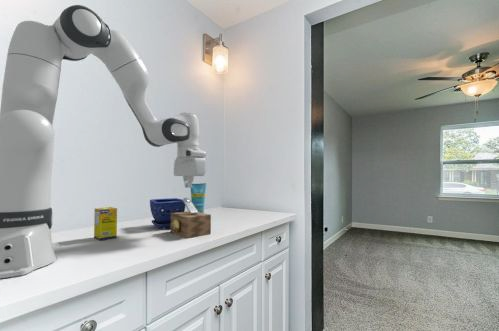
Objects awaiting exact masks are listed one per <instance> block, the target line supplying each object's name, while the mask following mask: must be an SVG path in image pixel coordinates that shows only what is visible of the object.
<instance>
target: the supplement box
mask: <svg viewBox="0 0 499 331" xmlns="http://www.w3.org/2000/svg"><path fill="white" fill-rule="evenodd" d="M93 217H94V218H93V219H94V220H93V221H94V224H93V225H94V226H93V232H94V234H93V238H94V239H96V240H98V241H105V240H111V239H115V238H116V239H117V237H118V236H117V234H118V233H117V232H118V230H117V228H118V225H117V224H118V208H116V207H113V206H108V207H107V206H105V207H96V208H94V216H93Z"/></svg>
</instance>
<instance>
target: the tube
mask: <svg viewBox="0 0 499 331" xmlns="http://www.w3.org/2000/svg"><path fill="white" fill-rule="evenodd" d="M206 187H207V183H206V182H205V183H204V182H202V183H201V182H200V183H192V187H191V188H190V200H191V201H192V203H193V205H194V206H195V208H196V209H197V211H198V212H200V213H205V199H206V198H205V197H206V190H207V189H206Z"/></svg>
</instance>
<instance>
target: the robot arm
mask: <svg viewBox="0 0 499 331" xmlns="http://www.w3.org/2000/svg"><path fill="white" fill-rule="evenodd" d="M91 54H92V55H93V56H95V57H96V58H98V59H99V60H100V61H101V62H102V63H103V64H104V65H105V67H106V68H107V70H108V72H109V73H110V74H111V75H112V78H113V79H114V80H115V82H116V83H117V85H118V87H119V89H120V90H121V93H122V95H123V97H124V99H125V101H126V103H127V105H128V106H129V108H130V110H131V112H132V113H133V115H134V116H135V118H136V120H137V122H138V123H139V125H140V127H141V130H142V133H143V137H144V139H145V141H146V142H147V143H148V144H149V145H150V146H153V147H155V148H158V147H159V148H160V147H163V146H165V145H171V144H176V145H177V146H176V147H177V150H176V157H175V159H174V163H173V176H175V177H182V179H183V182H184V188H189V189H191V187H192V184H193V182H194V179H195V177H204V176H205V174H206V170H207V169H206V166H207V162H206V157H207V152H206V151H204V150H202V149H201V148H200V143H199V142H200V141H199V139H200V134H201V133H200V122H199V119H198V116H197V115H195V114H193V113H190V112H181V113H179V114H178V115H175V116H172V117H167V118H164V119H161V120H158V118H156V117H155V114H154V113H153V112H152V110H151V108H150V106H149V104H148V102H147V99H146V90H147V88H148V86H149V83H150V74H149V70H148V69H147V66H146V65H145V63H144V61H143V60H142V58H141V56H140V55H139V53H138V52H137V50H135V48H134V47H133V45H132V44H131V43H130V42H129V40H127V38H126V37H125V36H124V35H123V34H122V33H121V32H120V31H118V30H114V29H110V28H109V25H108V24H107V23H106V22H104V21H103V19H102V18H101V17H100V16H99V15H98V13H96V12H94V10H92V9H90V8H89V7H87V6H85V5H80V4H73V5H71V6H68V7H66V8H65V9H63V10H62V12H61V13H60V15H59V16H58V17H57V19H56V20H55V21H54V23H53V24H51V25H48V24H44V23H42V22H38V21H35V20H24V21H21V22H19V23H18V24H17V25H16V27H15V29H14V31H13V33H12V36H11V39H10V42H9V46H8V49H7V54H6V62H5V66H4V67H5V68H4V75H3V80H2V88H1V89H2V90H1V99H0V100H1V101H0V279H5V278H6V279H7V278H12V277H13V278H14V277H18V276H24V275H26V274H30V273H32V272H33V271H35V270H37V269H39V268H43V267H45V266H47V265H48V266H49V265H50V264H52V263H54V262H56V260H57V256H56V253H55V249H54V246H53V239H52V233H51V232H52V231H51V230H52V226H53V216H54V215H53V214H54V213H53V208H52V207H51V194H52V193H51V191H52V190H51V188H52V185H51V184H52V183H51V182H52V171H53V161H54V160H53V159H54V146H55V130H54V127H53V125H54V122H53V121H54V117H55V111H56V107H57V106H56V105H57V100H58V95H59V86H60V79H61V72H62V70H61V69H62V61H63V60H67V61H71V62H79V61H83V60H84V59H86V58H87V57H88V56H90V55H91Z"/></svg>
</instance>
